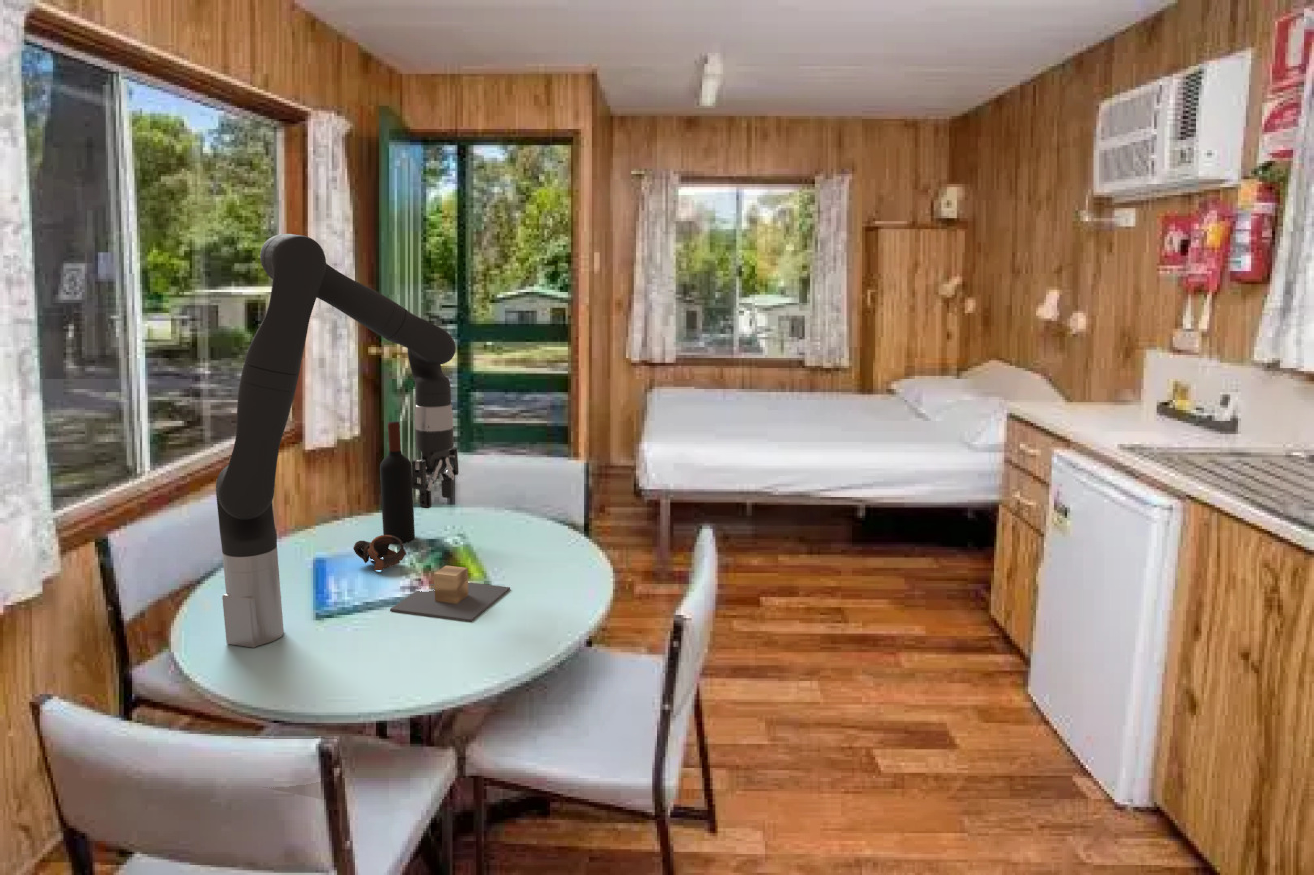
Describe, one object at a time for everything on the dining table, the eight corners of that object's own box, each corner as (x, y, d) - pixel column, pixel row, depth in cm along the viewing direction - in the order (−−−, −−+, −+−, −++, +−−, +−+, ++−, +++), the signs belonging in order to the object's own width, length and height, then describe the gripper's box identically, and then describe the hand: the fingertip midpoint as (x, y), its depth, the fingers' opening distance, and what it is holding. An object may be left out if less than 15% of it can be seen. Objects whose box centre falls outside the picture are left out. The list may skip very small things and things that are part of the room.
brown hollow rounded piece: (408, 559, 213) (412, 535, 208) (397, 589, 205) (400, 565, 200) (357, 547, 211) (359, 523, 206) (344, 577, 204) (346, 552, 199)
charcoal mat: (471, 621, 176) (471, 619, 176) (390, 611, 181) (390, 608, 181) (510, 589, 193) (510, 587, 193) (435, 580, 198) (435, 578, 198)
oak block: (456, 603, 184) (455, 576, 182) (434, 601, 185) (433, 573, 184) (468, 595, 188) (467, 567, 187) (446, 592, 190) (445, 565, 188)
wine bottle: (377, 542, 223) (371, 423, 217) (394, 533, 230) (388, 418, 224) (404, 545, 221) (398, 425, 215) (420, 536, 228) (415, 420, 222)
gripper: (432, 433, 176) (434, 513, 179) (467, 421, 189) (469, 495, 192) (398, 431, 178) (402, 509, 181) (436, 419, 191) (438, 492, 195)
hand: (436, 502), depth 187 cm, fingers open, 8 cm apart
